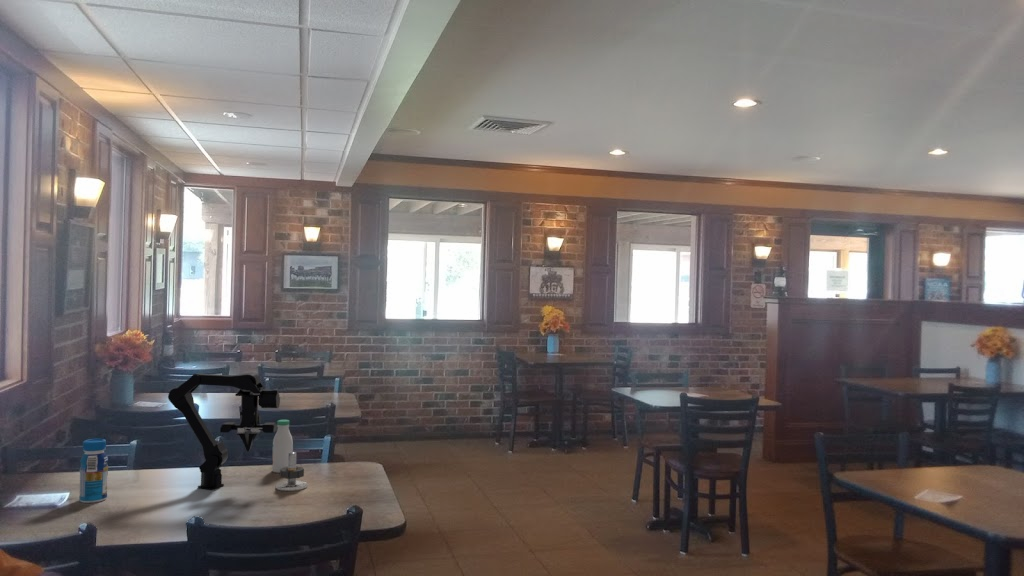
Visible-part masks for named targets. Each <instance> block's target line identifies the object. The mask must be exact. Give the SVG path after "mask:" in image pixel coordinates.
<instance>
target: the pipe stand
mask: <svg viewBox="0 0 1024 576" xmlns="http://www.w3.org/2000/svg"><path fill="white" fill-rule="evenodd" d="M296 466H297V451H293V452H289V453H288V470H296ZM306 487H308V482H306V481H303V480H297V478H294V479H287V480H285V481H279V482H278V483H276V484H275V490H277V491H280V492H297V491H298V492H299V491H303V490H305V489H307V488H306ZM302 489H303V490H302Z"/></svg>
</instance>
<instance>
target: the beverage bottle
mask: <svg viewBox="0 0 1024 576" xmlns="http://www.w3.org/2000/svg"><path fill="white" fill-rule="evenodd" d="M106 448H107V440H106V439H104V438H91V439H86V440H84V441H83V442H82V451H83V452H84V453H83V454H82V456H81V458H80V459H79V460H80V461H79V463H80V467H79V497H78V499H79V502H80V503H83V504H92V503H94V504H95V503H100V502H102V501H105V500H106V499H107V497H108V473H109V465H108V461H109V457H108V455H107V453H106V452H105V451H106V450H107V449H106Z"/></svg>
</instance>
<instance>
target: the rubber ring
mask: <svg viewBox="0 0 1024 576" xmlns="http://www.w3.org/2000/svg"><path fill="white" fill-rule="evenodd" d="M279 476H280V478H281V479H287V480H288V479H294V478H296V479H300V478H302V477H304V476H305V468H304V467H303V466H297V465H296V470H288V467H284V468H281V469H280V473H279Z"/></svg>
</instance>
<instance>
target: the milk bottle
mask: <svg viewBox="0 0 1024 576" xmlns="http://www.w3.org/2000/svg"><path fill="white" fill-rule="evenodd" d="M276 422H277V423H276V424H277V430H276V431H275V432H276V433H275V435H274V436H273V440H272V451H271V452H272V453H271V455H272V456H271V457H272V458H271V460H272V462H271V470H272V473H275V474H276V473H277V474H280V469H281V468H284V467H288V453H289V452H294V444H293V443H294V442H293V436H292V434H291V431H290V420H289V419H279V420H277V421H276Z"/></svg>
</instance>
